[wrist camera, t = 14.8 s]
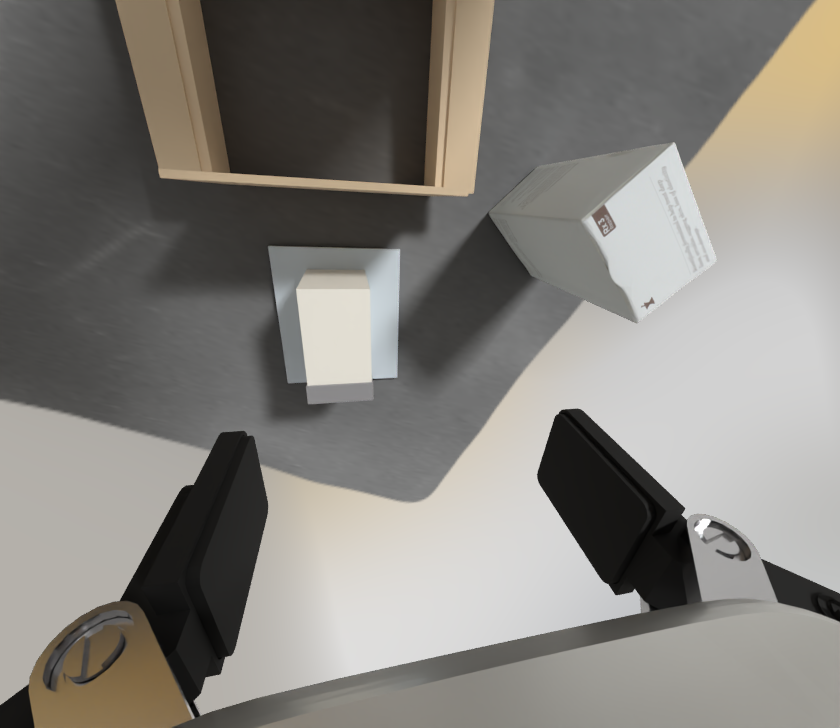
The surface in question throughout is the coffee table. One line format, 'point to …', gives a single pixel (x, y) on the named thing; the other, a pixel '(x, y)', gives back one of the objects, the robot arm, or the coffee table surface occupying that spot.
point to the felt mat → (375, 262)
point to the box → (336, 335)
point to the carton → (208, 162)
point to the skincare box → (609, 228)
